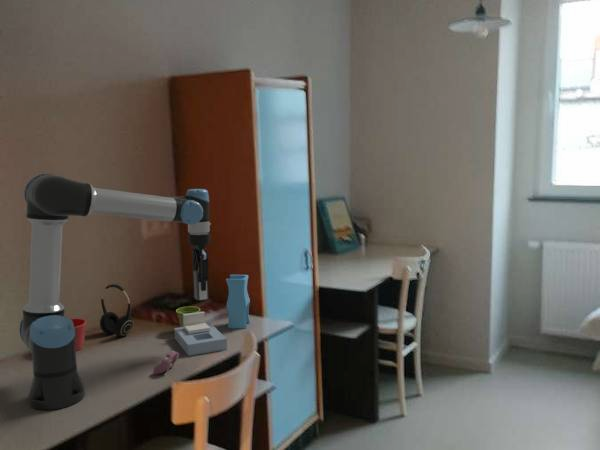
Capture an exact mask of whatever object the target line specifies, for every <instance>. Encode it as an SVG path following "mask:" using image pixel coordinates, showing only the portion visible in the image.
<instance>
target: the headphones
mask: <svg viewBox="0 0 600 450" xmlns="http://www.w3.org/2000/svg"><path fill="white" fill-rule="evenodd" d="M109 288H115V289H118V290H120V291H121V292H122V293H123V294H124V295H125V298H126V299H127V310H126V314H124V315H122V316H120V317H119V316H118V314H117V313H115V312H112V311H107V307H106V306H105V301H104V295H105V294H104V293H105V292H106V290H107V289H109ZM126 292H127V291H125V289H124V288H123V287H122V286H120V285H119V284H116V283H115V284H114V283H113V284H109V285H107V286H106V287H105V288H104V290H103V291H102V293H101V297H100V303H101V308H102V312H103V314H102V315H101V318H100V320H99V325H100V329H101V330H102V332H104V333H105V334H106V335H116V337H121V338H122V337H125V336H126V335H129V334H130V332H131V331H132V329H133V326H134V319H133V317H132V316H131V315H130V314H131V302H130V298H129V295H128V294H127V293H126Z"/></svg>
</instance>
